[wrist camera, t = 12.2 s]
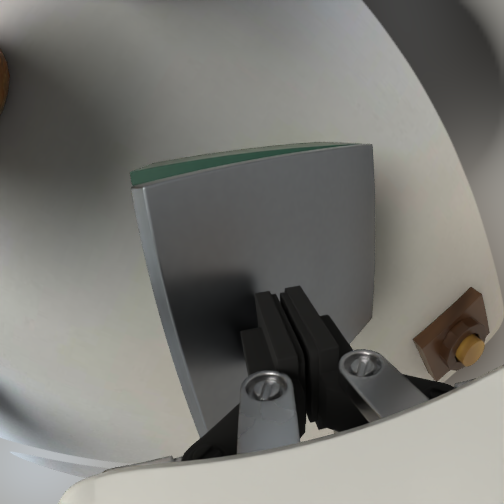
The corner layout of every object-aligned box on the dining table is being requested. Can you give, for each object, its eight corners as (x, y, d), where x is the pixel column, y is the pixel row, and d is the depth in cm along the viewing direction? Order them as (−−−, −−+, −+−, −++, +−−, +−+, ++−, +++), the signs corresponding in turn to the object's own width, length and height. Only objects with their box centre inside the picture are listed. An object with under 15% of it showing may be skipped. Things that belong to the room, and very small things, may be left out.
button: (474, 328, 30) (482, 335, 29) (478, 344, 32) (486, 352, 30) (453, 348, 31) (461, 356, 29) (457, 363, 32) (465, 371, 30)
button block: (470, 286, 33) (491, 300, 29) (480, 325, 35) (497, 339, 32) (412, 339, 34) (430, 357, 30) (428, 372, 36) (443, 390, 33)
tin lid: (208, 459, 12) (220, 468, 11) (129, 186, 8) (143, 186, 8) (362, 315, 22) (372, 318, 21) (360, 143, 18) (372, 143, 17)
